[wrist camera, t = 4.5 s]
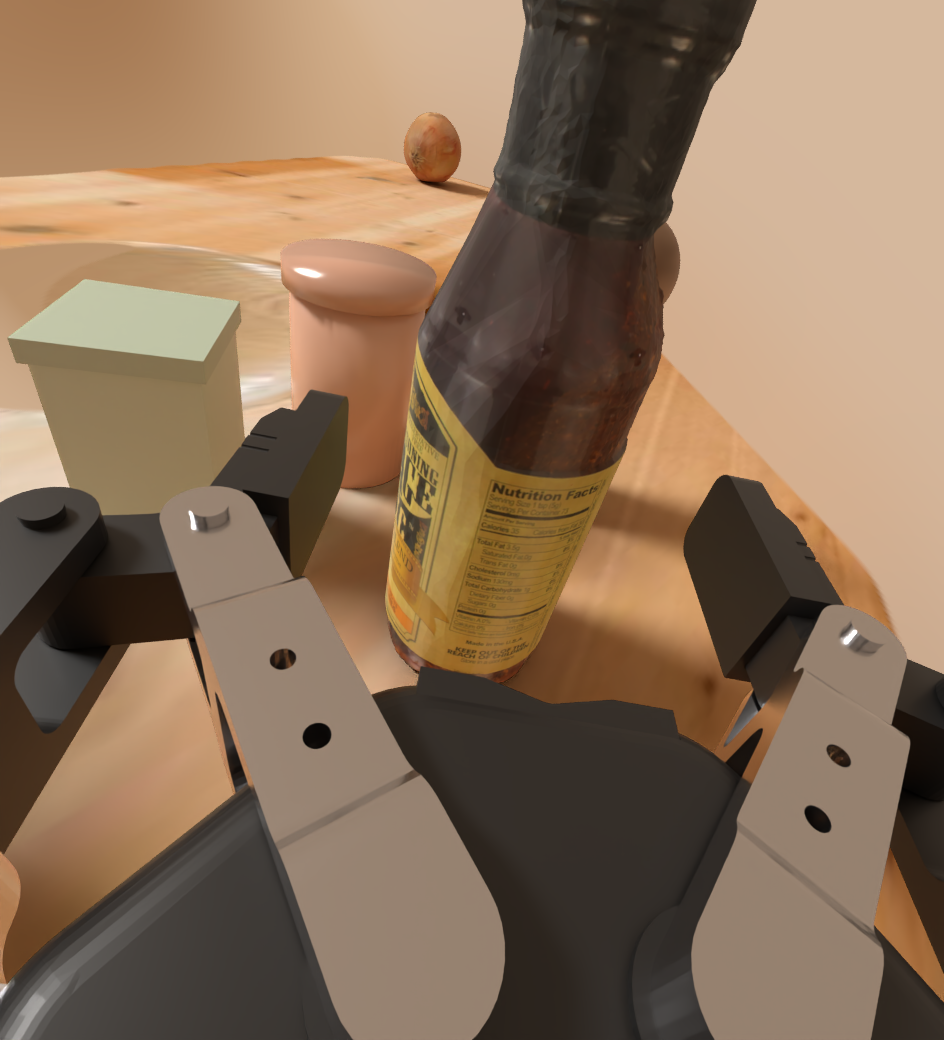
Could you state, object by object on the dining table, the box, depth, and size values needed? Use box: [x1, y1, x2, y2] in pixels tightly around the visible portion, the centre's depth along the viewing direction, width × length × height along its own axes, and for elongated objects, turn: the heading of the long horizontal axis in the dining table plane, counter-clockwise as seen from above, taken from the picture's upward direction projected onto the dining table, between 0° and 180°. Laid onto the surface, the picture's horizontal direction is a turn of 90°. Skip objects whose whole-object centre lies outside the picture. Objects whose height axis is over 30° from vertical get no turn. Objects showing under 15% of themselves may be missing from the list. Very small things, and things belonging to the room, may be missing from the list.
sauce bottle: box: [385, 0, 757, 683], centre depth 16 cm, size 6×6×20 cm
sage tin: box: [8, 279, 245, 515], centre depth 22 cm, size 5×5×9 cm
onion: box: [404, 112, 461, 182], centre depth 94 cm, size 10×10×10 cm
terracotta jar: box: [281, 239, 437, 488], centre depth 27 cm, size 7×7×10 cm
